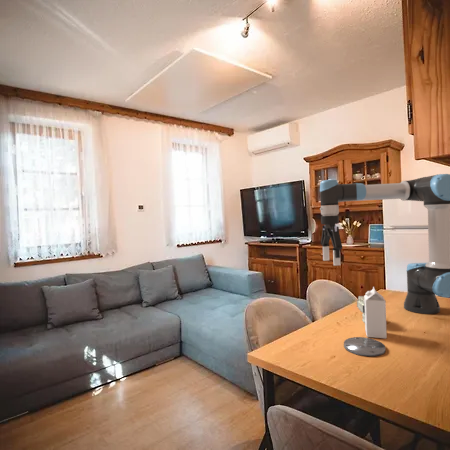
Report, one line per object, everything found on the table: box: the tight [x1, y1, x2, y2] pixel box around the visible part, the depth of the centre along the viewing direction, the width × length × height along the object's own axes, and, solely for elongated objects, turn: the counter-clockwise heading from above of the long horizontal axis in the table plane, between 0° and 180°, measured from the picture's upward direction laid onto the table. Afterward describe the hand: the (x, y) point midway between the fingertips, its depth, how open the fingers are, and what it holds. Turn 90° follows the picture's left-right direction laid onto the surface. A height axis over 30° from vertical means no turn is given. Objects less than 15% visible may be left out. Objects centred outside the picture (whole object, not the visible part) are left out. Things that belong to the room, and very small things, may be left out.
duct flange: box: [343, 336, 386, 358], centre depth 116 cm, size 14×14×1 cm
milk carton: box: [363, 286, 387, 339], centre depth 127 cm, size 7×7×19 cm
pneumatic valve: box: [356, 295, 365, 324], centre depth 141 cm, size 6×12×12 cm, turn 174°
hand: (331, 262), depth 139 cm, fingers open, 13 cm apart
